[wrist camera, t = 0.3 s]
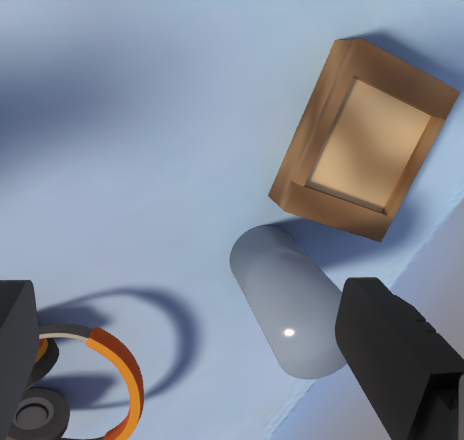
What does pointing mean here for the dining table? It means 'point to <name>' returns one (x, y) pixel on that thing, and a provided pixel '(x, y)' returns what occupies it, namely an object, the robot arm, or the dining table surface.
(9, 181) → the dining table surface
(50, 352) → the headphones
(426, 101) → the wooden tray
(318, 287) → the grey domed cylinder
